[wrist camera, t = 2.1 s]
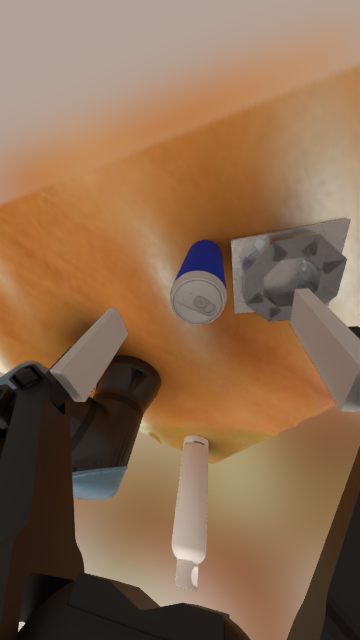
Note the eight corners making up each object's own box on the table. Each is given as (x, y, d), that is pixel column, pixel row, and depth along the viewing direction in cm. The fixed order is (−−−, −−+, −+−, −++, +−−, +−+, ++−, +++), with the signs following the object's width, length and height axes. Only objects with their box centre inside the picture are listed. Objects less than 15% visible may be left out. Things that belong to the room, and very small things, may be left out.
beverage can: (181, 262, 29) (158, 309, 17) (199, 232, 26) (187, 262, 14) (208, 279, 30) (205, 336, 18) (228, 251, 27) (241, 296, 15)
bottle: (179, 436, 61) (159, 581, 38) (202, 433, 58) (194, 590, 35) (191, 447, 64) (178, 587, 41) (212, 446, 61) (212, 595, 38)
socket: (233, 310, 33) (236, 325, 29) (230, 238, 26) (233, 245, 23) (325, 302, 29) (341, 317, 26) (345, 218, 23) (371, 222, 19)
